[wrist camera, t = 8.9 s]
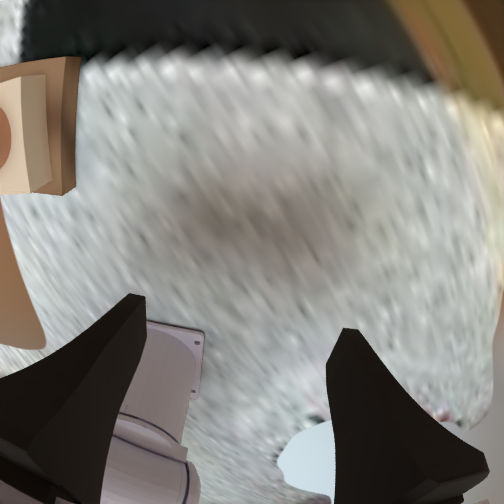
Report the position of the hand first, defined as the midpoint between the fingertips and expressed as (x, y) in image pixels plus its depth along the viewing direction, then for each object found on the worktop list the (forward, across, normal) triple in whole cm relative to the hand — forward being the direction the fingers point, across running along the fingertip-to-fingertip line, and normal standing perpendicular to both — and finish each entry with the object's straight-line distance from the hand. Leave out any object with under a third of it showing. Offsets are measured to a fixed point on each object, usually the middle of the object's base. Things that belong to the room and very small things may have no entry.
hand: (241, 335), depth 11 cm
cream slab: (+9, +17, -4) cm, 20 cm away
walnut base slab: (+11, +17, -5) cm, 21 cm away
